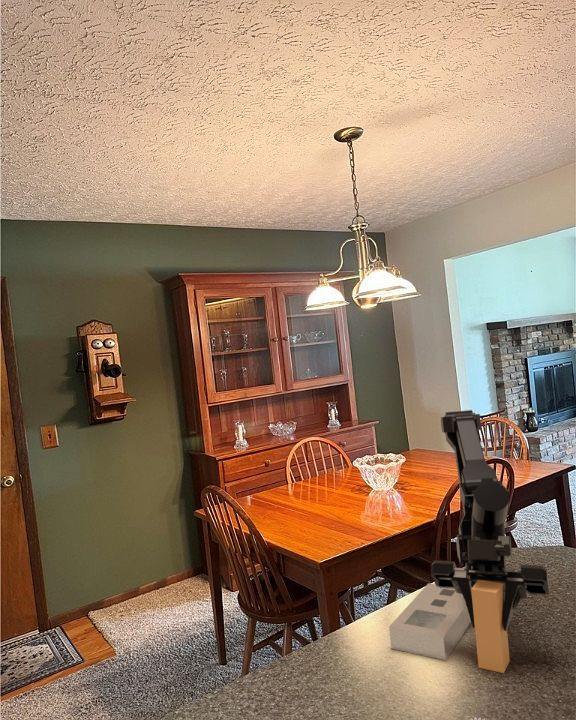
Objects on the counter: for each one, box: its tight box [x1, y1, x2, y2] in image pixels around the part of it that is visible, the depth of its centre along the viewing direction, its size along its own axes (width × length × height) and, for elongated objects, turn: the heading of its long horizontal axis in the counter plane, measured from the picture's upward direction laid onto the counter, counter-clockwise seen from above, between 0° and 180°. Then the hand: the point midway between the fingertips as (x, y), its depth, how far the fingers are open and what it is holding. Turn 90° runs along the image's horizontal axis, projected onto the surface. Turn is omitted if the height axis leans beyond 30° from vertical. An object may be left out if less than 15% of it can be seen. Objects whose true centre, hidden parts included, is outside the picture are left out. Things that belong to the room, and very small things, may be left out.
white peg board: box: [388, 583, 472, 661], centre depth 107 cm, size 20×10×4 cm, turn 146°
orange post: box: [471, 580, 511, 674], centre depth 94 cm, size 4×4×13 cm
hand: (489, 628), depth 93 cm, fingers closed on orange post, 4 cm apart
